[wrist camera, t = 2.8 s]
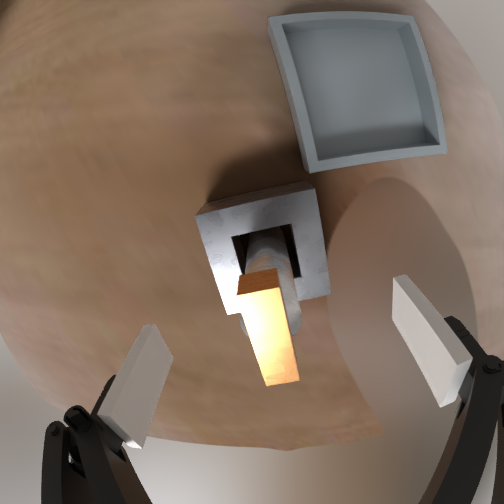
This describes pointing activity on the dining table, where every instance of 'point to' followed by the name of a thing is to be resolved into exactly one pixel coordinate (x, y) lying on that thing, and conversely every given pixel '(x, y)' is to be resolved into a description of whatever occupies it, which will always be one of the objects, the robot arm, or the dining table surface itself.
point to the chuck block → (258, 218)
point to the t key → (270, 305)
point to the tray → (357, 87)
